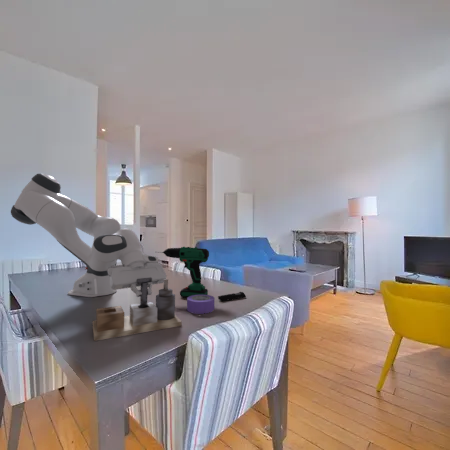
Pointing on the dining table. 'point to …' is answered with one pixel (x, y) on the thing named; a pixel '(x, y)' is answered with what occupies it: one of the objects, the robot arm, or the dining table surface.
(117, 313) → the stand
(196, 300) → the tape roll
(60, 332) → the dining table surface
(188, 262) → the power drill
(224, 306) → the dining table surface
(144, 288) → the chuck key
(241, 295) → the electric trimmer
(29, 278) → the dining table surface
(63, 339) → the dining table surface
